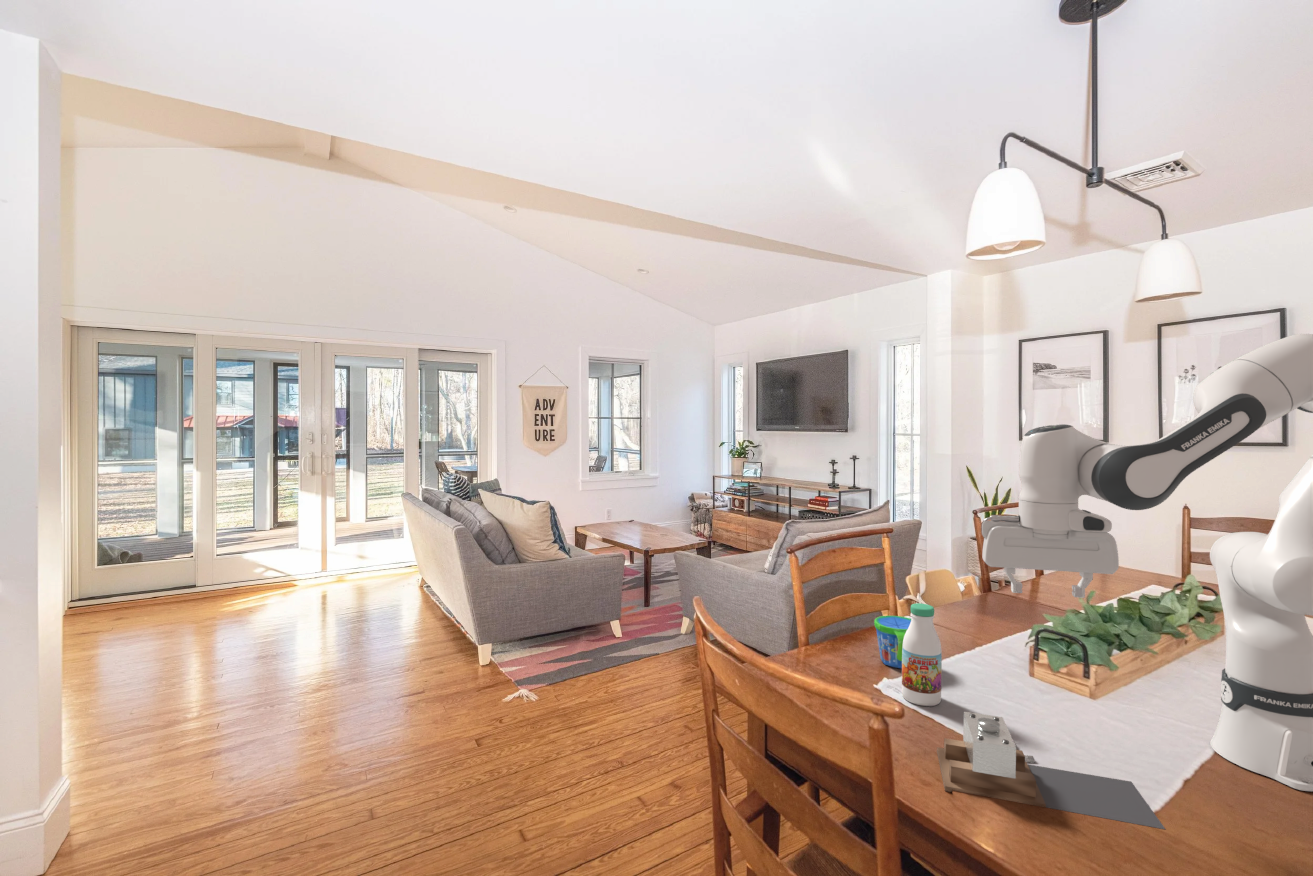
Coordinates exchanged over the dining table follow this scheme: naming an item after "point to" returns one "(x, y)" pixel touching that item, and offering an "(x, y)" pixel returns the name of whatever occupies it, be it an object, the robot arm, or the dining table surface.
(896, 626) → the snack cup
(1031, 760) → the pin
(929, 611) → the milk bottle
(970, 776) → the stand
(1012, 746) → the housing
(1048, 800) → the bench mat
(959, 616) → the dining table surface
